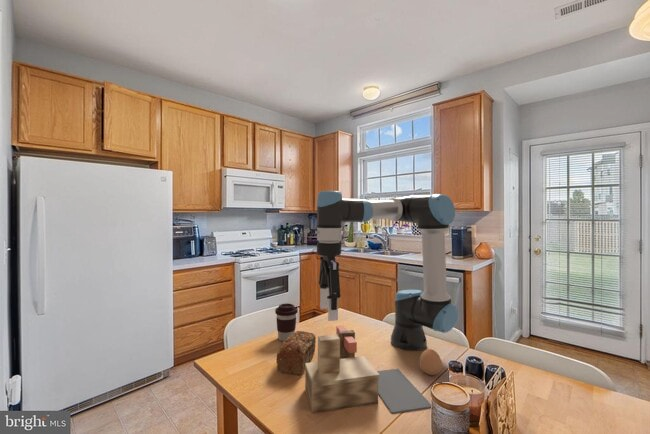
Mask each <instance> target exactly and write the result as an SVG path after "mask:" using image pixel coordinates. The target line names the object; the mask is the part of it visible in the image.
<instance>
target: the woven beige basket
mask: <svg viewBox="0 0 650 434" xmlns="http://www.w3.org/2000/svg"><path fill="white" fill-rule="evenodd" d="M343 335H351V336H352V337H353V338H354V339H355V340H356V332H355V330H354V329H351V330H349V329H348V330H347V331H339V338H340V359H344V358H353V357H356V353H348V351H347V350H346V348H345V347H344V345H343ZM304 374H305V377H304V378H305V379H304V380H305V381H304V382H305V383H304V387H305V393H306V397H307V399H308V400H307V401H308V404H309V407H310V411H311V414H315V413H316V414H317V413H323V412H330V411H337V410H344V409H345V410H346V409H350V408H357V407H358V408H360V407H365V406H371V405H379V394H378V378H376V379H368V380H361V381H354V382H347V383H340V384H333V385H326V386H319V387H313V385H312V382H311V380H310V377H309V375H308V372H307V369H306V367H305V370H304Z"/></svg>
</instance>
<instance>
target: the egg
mask: <svg viewBox="0 0 650 434" xmlns="http://www.w3.org/2000/svg"><path fill="white" fill-rule="evenodd" d="M419 365H420V368H421V369H422V371H423V372H424V373H426V374H427V375H430V376H434V375H437V374H439V373H440V372H441V369H442V365H443V364H442V358H441V357H440V355H439V354H438V352H437V351H435V350H434V349H432V348H431V349H425V350H424V351H422V353H421V355H420V358H419Z"/></svg>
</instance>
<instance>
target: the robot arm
mask: <svg viewBox="0 0 650 434" xmlns="http://www.w3.org/2000/svg"><path fill="white" fill-rule="evenodd" d="M342 194H343V193H342V192H341V191H339V190H322V191H319V192H318V194H317V200H316V229H317V230H315V233H314V234H316V240H317V241H318V242H317V243H316V254H317V255H318V256H320V257H319V259H320V263H319V264H320V265H319V274H318V275H319V278H318V285H319V288H320V289H319V290H320V293H319V294H320V295H319V297H320V298H319V303H320V305H319V309H320V310H327V311H328V312H327V314H328V315H327V317H328V318H327V321H328V322H331V321H333V322H335V321H336V322H337V321H339V298H341V287H340V284H341V283H340V270H339V268H340V266H339V265H340V263H339V262H338V261H336V256H341V254H342V242H341V241H342V240H343V239H342V237H343V234H342V231H343V228H342V223H364V222H365V223H366V222H369V221H370V220H389V221H392V222H406V223H412V224H417V229H418V231H420V232H421V243H422V246H421V247H422V248H421V249H422V270H423V271H422V272H423V274H422V275H423V291H422V290H420V289H403V290H399V291H397V292H396V293H395V299H394V312H395V313H394V318H395V319H394V326H393V329H392V333H391V335H390V343H391V345H392V346H394V347H395V348H399V349H401V350H406V351H421V350H424V349H426V348H427V344H428V343H427V341H428V340H427V337H426V335H425V330H424V327H425V328H427V329H430V330H433V331H435V332H440V333H444V334H447V333H449V332H450V331H451V330H452V329H454V327H455V325H456V324H457V321H458V317H459V309H458V307H457V306H456V304H454V303H452V297H451V295H450V294H449V293H448V291H447V290H448V289H447V260H446V259H447V258H446V232H447V231H448V230H449V228H450V225H451V224H452V223H453V222H454V220H455V219H454V218H455V217H456V208H455V205H454V202H453V200H452V199H451V198H450V197H449V196H448V195H447V194H444V193H429V194H418V195H417V194H413V195H409V196H408V195H407V196H403V197H392V198H389V199H388V200H387V199H385V200H383V199H381V200H374V199H373V200H370V199H369V200H368V199H362V198H343V195H342Z"/></svg>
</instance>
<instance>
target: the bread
mask: <svg viewBox="0 0 650 434" xmlns="http://www.w3.org/2000/svg"><path fill="white" fill-rule="evenodd" d="M316 339H317V338H316V335H315V334H314V333H313V332H308V331H302V330H301V331H300V330H298V331H295V333H293V334H291V335H289V336H288V337H287V338H286V339H285V341H282V342H281V344H280V347H279V349H278V350H277V354H276V362H275V363H276V365H277V366H276V367H277V372H278V373H281V374H286V375H292V376H301V375H302V376H303V374H305V363H311V361H312V359H313V357H314V354H315V351H316V349H315V348H316Z"/></svg>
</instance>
